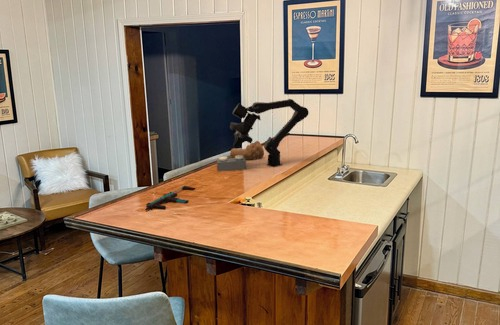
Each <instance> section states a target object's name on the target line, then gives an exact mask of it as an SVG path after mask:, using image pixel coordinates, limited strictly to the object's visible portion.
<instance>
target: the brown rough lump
mask: <svg viewBox="0 0 500 325" xmlns="http://www.w3.org/2000/svg"><path fill="white" fill-rule="evenodd" d="M237 155H243V157H245V158H246V160H247V159H249V160H255V159H256V158H258V159H262V158H264V155H265V149H264V146H263V145H262V143H261V142H260V141H259V140H256V141H254V142H251V143H249V144H248V145H247V146H246V147H245V148H237V147H236V148H231V150H230V152H229V156H230V158H235V156H237Z"/></svg>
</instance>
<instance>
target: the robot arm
mask: <svg viewBox="0 0 500 325" xmlns="http://www.w3.org/2000/svg"><path fill="white" fill-rule="evenodd" d="M288 107H289V108H290V109H292V110H293V111H294V112H293V114H292V116H291V117H290V119H288V121H287V122H286V123H285V124H284V125H283V126H282V127H281V128H280V130H279V131H278V132H277V133H276V135H274V136H273V137H271V136H269V137H268V138H267V140H266V141H264V144H263V149H264V151H266V152H267V153H268V154H267V163H266V166H270V167H274V168H275V167H278V166H282V165H283V163H281V151H280V150H279V149H278V147H279V146H280V143H281V141H282V140H283V139H284V138H286V136H287V135H288V134H289V133H290V132H291V130H292V129H293V128H295V126H296V125H298V123H299V122H302V121H303V120H305V119H306V118H307V117H308V116H309V114H310V112H309V109H308V108H307V107H305V106H302V105H300V104H299V103H297V102H296V101H295V100H294V99H292V98H288V99H283V100H276V101H270V102H263V101H262V102H258V101H255V102H253V103H252V104H251V105H250V106H248V107H246V106H244V105H242V103H238V104H237V105H236V106H235V107H234V109H233V111H232V112H231V113H232V115H233V116H235V117H237V118H239V119H240V120H242V119H243V121H240V122H239V123H238V122H232V121H231V122H230V125H229V129H230V130H231V131H232V132H233V135H234V141H233V144H232V147H233V148H236V149H237V147H238V146H240V145H242V144H243V143H245V142H247V143H249V144H251V143H253V140H254V139H253V138H252V137H251V136H250V134H249V133H250V131H252V130H253V129H254V128H253V127H254V124H255V123H256V122H257V120H258V121H261V115H260V114H262V113H265V112H268V111H270V110H271V111H272V110H276V109H282V108H288ZM233 148H232V149H233Z"/></svg>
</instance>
